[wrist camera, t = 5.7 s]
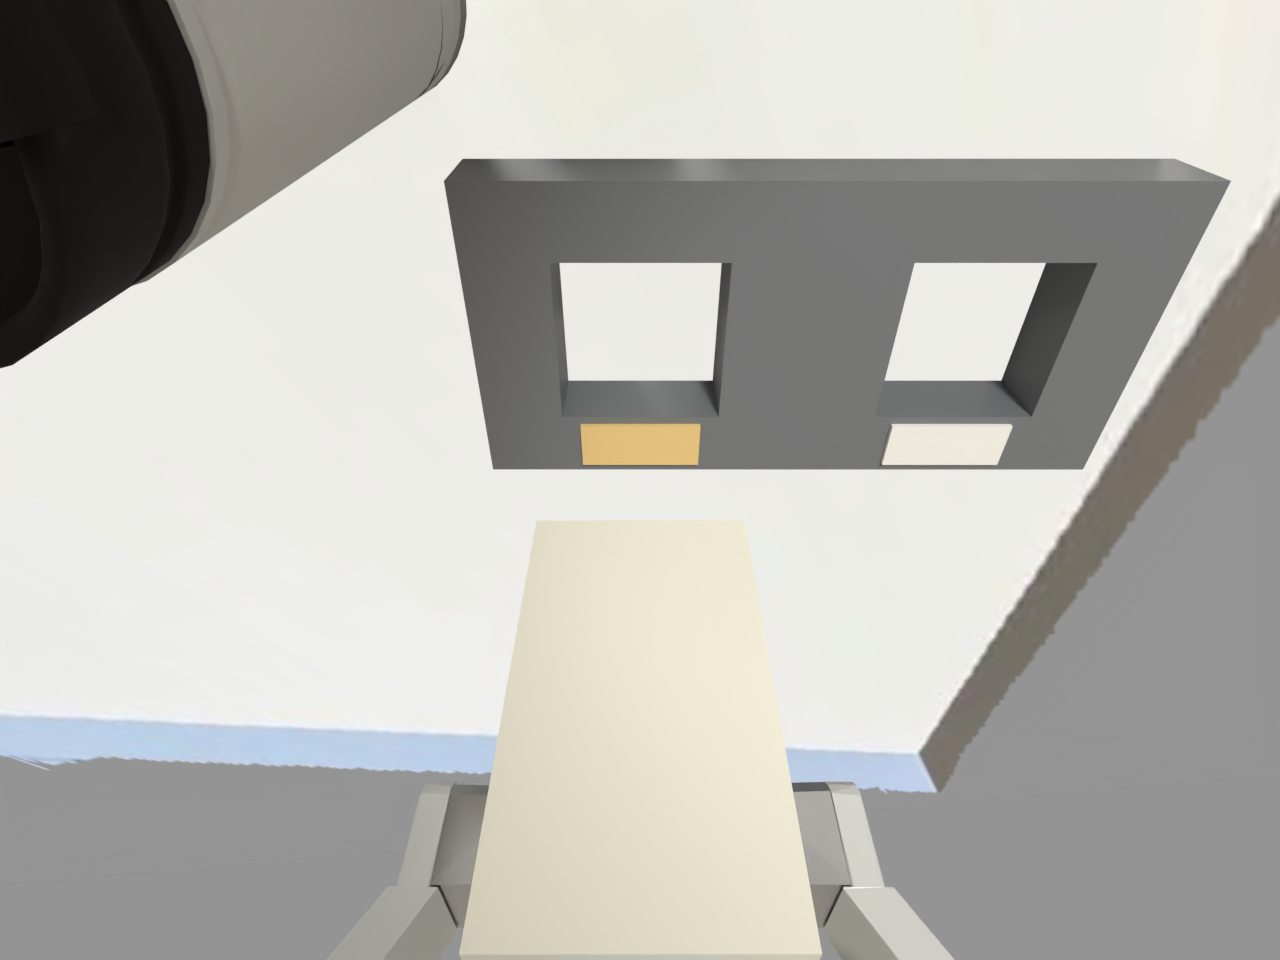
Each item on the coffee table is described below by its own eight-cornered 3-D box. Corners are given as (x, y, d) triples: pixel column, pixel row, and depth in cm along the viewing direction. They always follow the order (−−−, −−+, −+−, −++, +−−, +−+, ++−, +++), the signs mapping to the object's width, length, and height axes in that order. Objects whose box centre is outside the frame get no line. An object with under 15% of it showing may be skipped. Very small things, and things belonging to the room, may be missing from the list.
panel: (462, 158, 25) (442, 182, 22) (1174, 158, 25) (1235, 182, 22) (503, 431, 32) (492, 472, 30) (1050, 431, 32) (1085, 472, 30)
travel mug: (503, 78, 23) (211, 358, 7) (324, 118, 24) (-288, 449, 8) (436, -171, 19) (-475, -696, 4) (225, -113, 20) (-1298, -338, 4)
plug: (536, 520, 15) (427, 1133, 7) (744, 520, 15) (853, 1132, 7) (553, 649, 17) (487, 1186, 10) (727, 649, 17) (794, 1186, 10)
